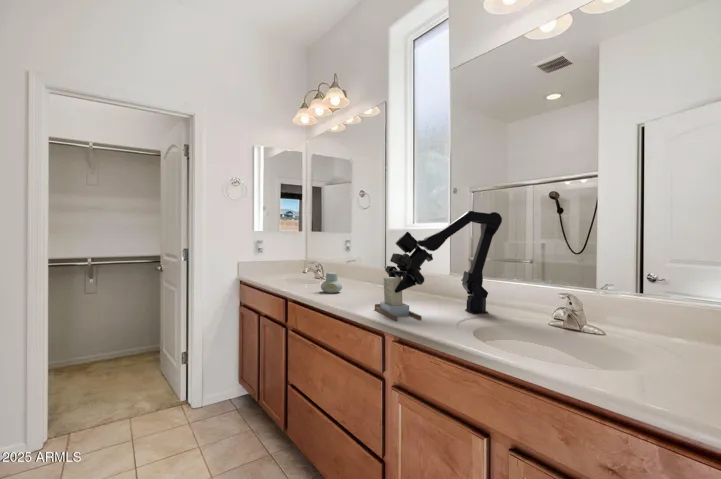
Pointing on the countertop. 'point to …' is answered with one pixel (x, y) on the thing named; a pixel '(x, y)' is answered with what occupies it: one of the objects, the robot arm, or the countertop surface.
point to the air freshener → (331, 283)
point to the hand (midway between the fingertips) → (390, 290)
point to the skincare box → (392, 291)
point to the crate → (395, 309)
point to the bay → (377, 308)
